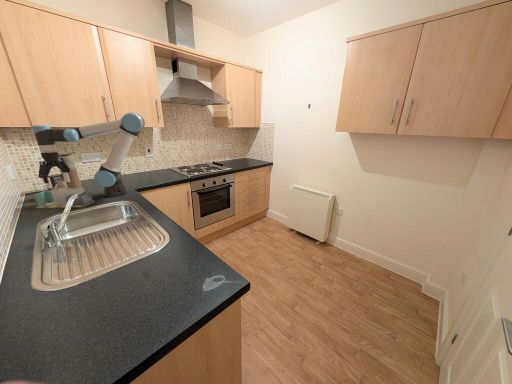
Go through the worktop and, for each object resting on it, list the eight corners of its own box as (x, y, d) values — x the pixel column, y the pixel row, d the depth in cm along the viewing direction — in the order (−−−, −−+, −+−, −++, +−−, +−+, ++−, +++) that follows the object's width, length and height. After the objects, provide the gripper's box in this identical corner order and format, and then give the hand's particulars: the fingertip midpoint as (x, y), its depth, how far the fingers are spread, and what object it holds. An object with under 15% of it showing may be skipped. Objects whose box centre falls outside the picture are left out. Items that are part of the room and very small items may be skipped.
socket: (56, 201, 138) (52, 190, 135) (45, 206, 130) (40, 194, 127) (48, 201, 137) (44, 190, 135) (36, 206, 129) (32, 195, 127)
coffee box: (56, 198, 144) (49, 177, 139) (49, 198, 146) (42, 176, 140) (70, 194, 153) (63, 174, 148) (63, 194, 154) (56, 173, 149)
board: (94, 201, 140) (94, 200, 140) (84, 206, 131) (84, 206, 130) (49, 202, 138) (49, 201, 138) (35, 208, 129) (34, 207, 128)
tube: (89, 201, 137) (85, 187, 134) (83, 204, 133) (79, 190, 129) (62, 202, 136) (57, 188, 133) (55, 205, 131) (50, 190, 128)
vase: (80, 185, 174) (71, 153, 165) (83, 188, 168) (73, 155, 159) (65, 188, 167) (54, 155, 158) (67, 190, 161) (56, 156, 152)
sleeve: (92, 201, 139) (90, 191, 137) (84, 205, 131) (81, 195, 129) (77, 201, 138) (74, 191, 136) (68, 205, 131) (65, 195, 128)
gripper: (59, 149, 135) (68, 179, 141) (21, 154, 111) (34, 190, 118) (71, 149, 135) (79, 179, 142) (35, 154, 111) (47, 190, 118)
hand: (59, 184), depth 130 cm, fingers open, 13 cm apart
